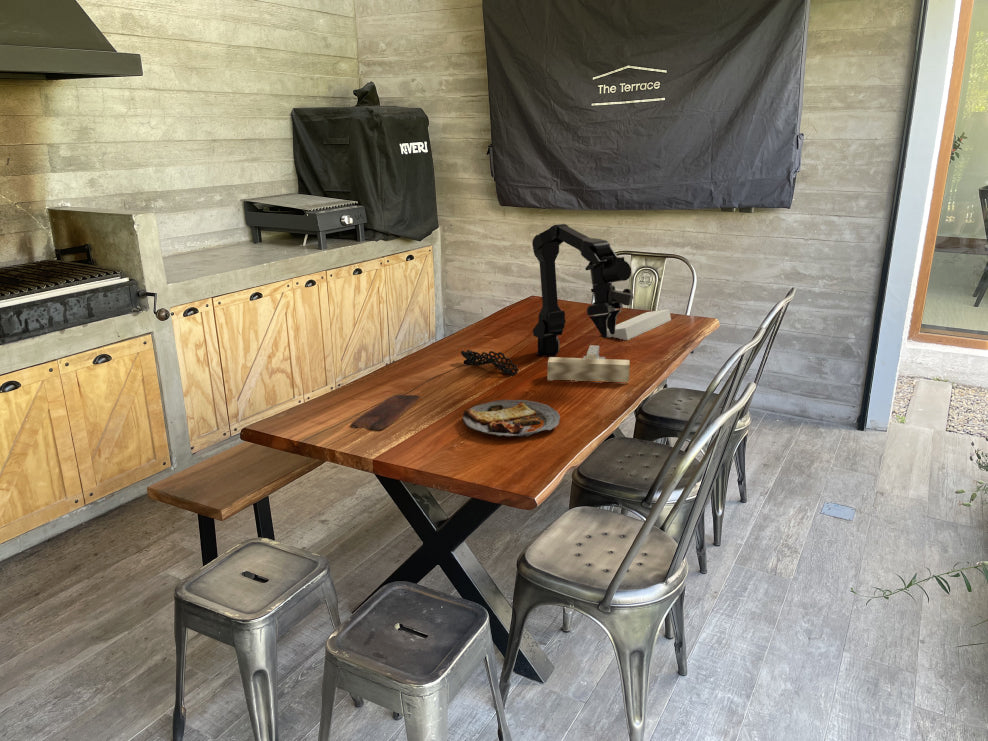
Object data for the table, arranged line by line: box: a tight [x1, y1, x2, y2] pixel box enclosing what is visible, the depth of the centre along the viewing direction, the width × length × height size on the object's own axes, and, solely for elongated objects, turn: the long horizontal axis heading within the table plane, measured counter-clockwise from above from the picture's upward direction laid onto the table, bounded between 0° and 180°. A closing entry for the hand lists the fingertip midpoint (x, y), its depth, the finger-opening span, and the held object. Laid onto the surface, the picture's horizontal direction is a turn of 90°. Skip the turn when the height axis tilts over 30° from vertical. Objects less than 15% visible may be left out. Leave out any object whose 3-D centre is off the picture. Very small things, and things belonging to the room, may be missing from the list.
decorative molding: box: [607, 308, 672, 341], centre depth 280 cm, size 34×5×10 cm
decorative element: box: [460, 349, 519, 377], centre depth 236 cm, size 22×5×6 cm, turn 49°
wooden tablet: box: [350, 394, 421, 432], centre depth 202 cm, size 26×2×10 cm
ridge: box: [582, 344, 606, 359], centre depth 237 cm, size 7×12×5 cm, turn 167°
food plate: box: [461, 399, 561, 438], centre depth 193 cm, size 25×23×4 cm
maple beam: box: [546, 356, 631, 382], centre depth 224 cm, size 24×5×6 cm, turn 80°
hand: (609, 336), depth 223 cm, fingers open, 9 cm apart
